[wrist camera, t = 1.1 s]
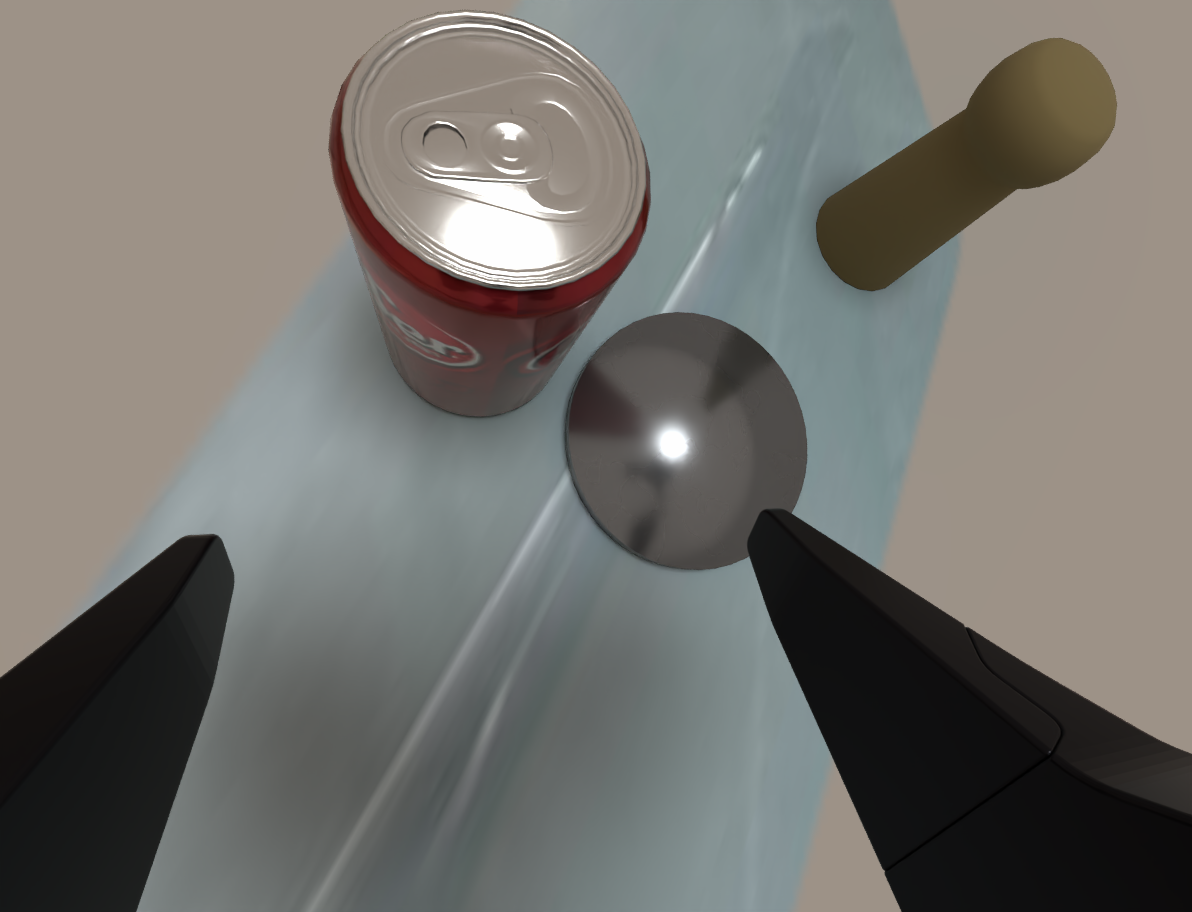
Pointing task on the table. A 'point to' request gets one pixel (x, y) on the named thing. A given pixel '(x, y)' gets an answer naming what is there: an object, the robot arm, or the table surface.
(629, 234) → the soda can
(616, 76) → the table surface
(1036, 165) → the cork
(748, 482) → the flange plate
